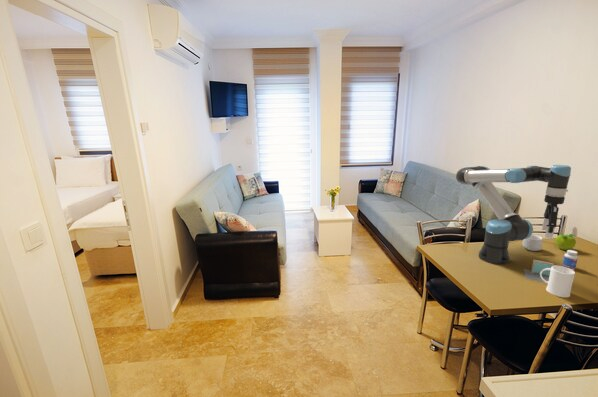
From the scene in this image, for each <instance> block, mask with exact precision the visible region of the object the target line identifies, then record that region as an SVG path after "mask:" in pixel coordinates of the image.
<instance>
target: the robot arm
mask: <svg viewBox="0 0 598 397" xmlns="http://www.w3.org/2000/svg"><path fill="white" fill-rule="evenodd" d="M571 170H572V167H571V166H570V165H565V164H554V165H553V164H552V165H551V167H544V166H538V165H527V167H520V168H517V167H516V168H515V167H514V168H500V169H496V168H495V169H494V168H493V169H491V168H489V167H488V166H485V165H482V166H481V165H477V166H470V167H461V168H460V169H459V170H458V171H457V172H456V174H455V179H456V181H457V182H458V183H459V184H461V185H465V186H466V185H472V187H473V188H474V190H478V191H479V192H480V194H481V196H482V197H483V199H484V200H485V201H486V203H487V204H488V206H489V207H490V208H491V210H492V211H493V214H495V216H496V218H495V219H494V218H493V219H490V220H489V221H487V224H486V226H485V231H484V232H485V233H484V241H483V245H482V247H481V249H480V250H479V252H478V257H479V259H481V260H482V261H484V262H487V263H490V264H494V265H507V264H509V263H510V254H509V249H508V247H509V243H510V242H514V241H515V242H517V241H523V240H524V239H527V238H529V237H530V236H531V235H533V232H534V228H533V225H532V223H531V222H530V221H529V220H527V219H523V218H522V217H521V215H520V214H518V213H515V212H514V211H513V209H512V208H511V207H510V205H509V204H508V203H507V201H506V200H505V198H504V197H503V196H502V194H501V193H500V192H499V190H498V189H497V188H496V187H495V185H494V184H493V183H510V184H520V183H526V182H527V183H528V182H542V183H543V182H544V183H547V185H546V190H545V196H544V199H543V201H544V202H545V203H546V208H545V210H544V214H543V221H542V226H541V231H546V232H545V237H544V238H545V239H551V240H553V238H554V233H555V229H556V228H557V223H558V215H559V209H560V208H559V205H563V204H564V203H565V199H566V193H568V192H569V189H567V188H568V184H569V181H570V178H571V174H572V173H571V172H572V171H571Z"/></svg>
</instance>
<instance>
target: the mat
mask: <svg viewBox="0 0 598 397" xmlns="http://www.w3.org/2000/svg"><path fill="white" fill-rule="evenodd" d="M531 270H532V269H531ZM531 270H530V269H525V268H524V269H523V271H524V278H525V279H527V280H532V281H537V282H541V283H545V282H544V281H543V280H542V279H541V277H540V274H537V273H532V272H531ZM541 275H542V274H541ZM542 277H543V279H544V280H546V281H549V276H547V275H542Z"/></svg>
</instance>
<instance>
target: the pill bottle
mask: <svg viewBox="0 0 598 397" xmlns="http://www.w3.org/2000/svg"><path fill="white" fill-rule="evenodd" d="M578 258H579V256H578V251H577V250H573V249H570V250H566V253H564V256H563V259H562V264H561V266H563V267H567V268H569V269H572V270H573V271H575V270H576V267H577V265H578Z"/></svg>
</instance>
